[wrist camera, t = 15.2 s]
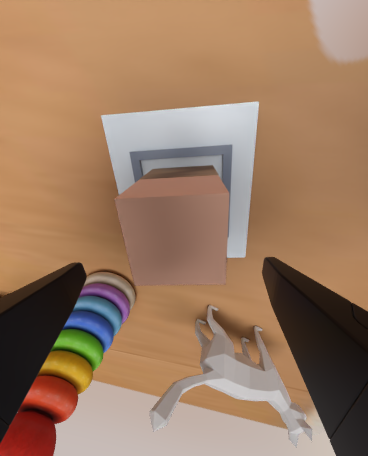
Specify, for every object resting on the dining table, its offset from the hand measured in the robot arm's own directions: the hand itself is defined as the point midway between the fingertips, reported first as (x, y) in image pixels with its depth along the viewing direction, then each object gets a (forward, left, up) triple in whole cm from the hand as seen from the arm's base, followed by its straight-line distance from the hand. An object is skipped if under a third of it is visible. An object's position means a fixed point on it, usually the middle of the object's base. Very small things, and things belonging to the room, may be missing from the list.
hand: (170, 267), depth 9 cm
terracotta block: (0, 0, -7) cm, 7 cm away
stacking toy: (+12, +14, -13) cm, 23 cm away
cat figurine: (-5, +21, -13) cm, 25 cm away
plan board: (0, 0, -13) cm, 13 cm away
